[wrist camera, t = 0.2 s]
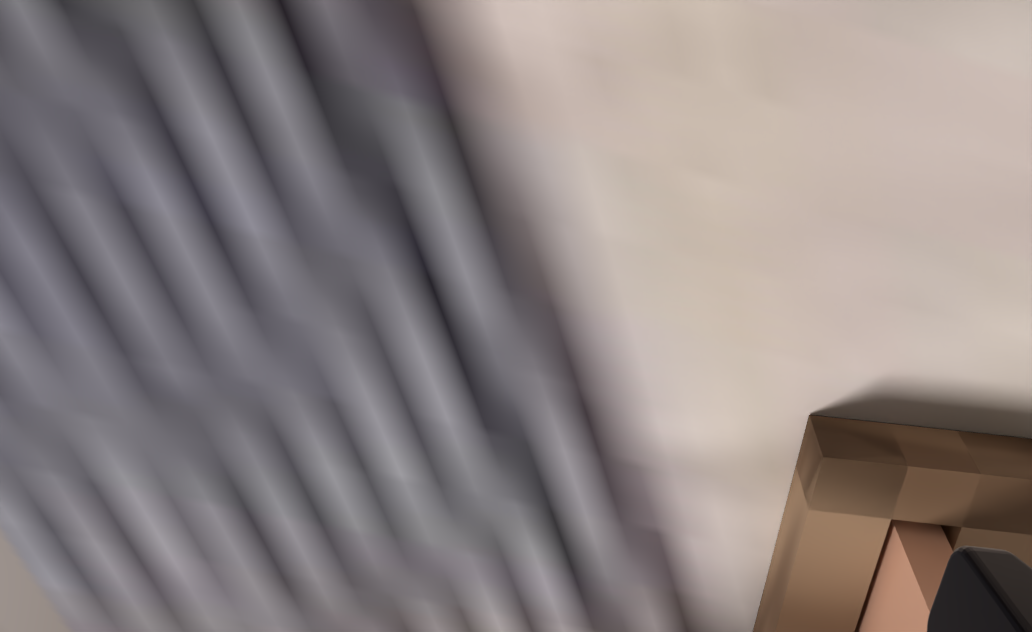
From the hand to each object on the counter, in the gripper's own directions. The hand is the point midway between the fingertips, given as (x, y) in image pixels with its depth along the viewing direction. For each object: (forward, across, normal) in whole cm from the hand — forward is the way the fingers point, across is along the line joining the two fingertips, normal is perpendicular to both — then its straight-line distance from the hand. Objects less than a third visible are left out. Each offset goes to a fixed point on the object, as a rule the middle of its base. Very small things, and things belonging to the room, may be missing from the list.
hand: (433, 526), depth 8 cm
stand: (+14, -10, +13) cm, 22 cm away
